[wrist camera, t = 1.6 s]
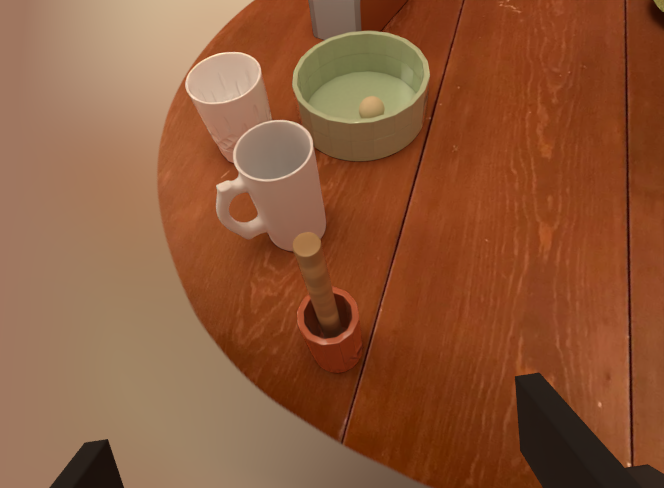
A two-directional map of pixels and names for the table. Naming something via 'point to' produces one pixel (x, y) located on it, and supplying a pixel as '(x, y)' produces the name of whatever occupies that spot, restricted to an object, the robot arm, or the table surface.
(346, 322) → the crock
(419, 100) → the bowl
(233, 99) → the white cup
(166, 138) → the table surface
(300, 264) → the stick
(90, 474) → the robot arm
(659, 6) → the mat
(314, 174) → the mug
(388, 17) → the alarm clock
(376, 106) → the dough ball
